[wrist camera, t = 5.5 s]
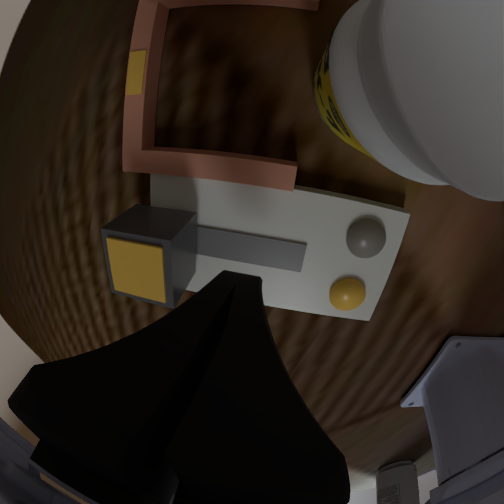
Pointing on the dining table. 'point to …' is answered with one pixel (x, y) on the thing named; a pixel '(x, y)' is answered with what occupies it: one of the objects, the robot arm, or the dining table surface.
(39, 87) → the dining table surface
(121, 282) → the block
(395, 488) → the energy drink can
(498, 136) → the supplement bottle
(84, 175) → the dining table surface
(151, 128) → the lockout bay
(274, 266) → the panel
